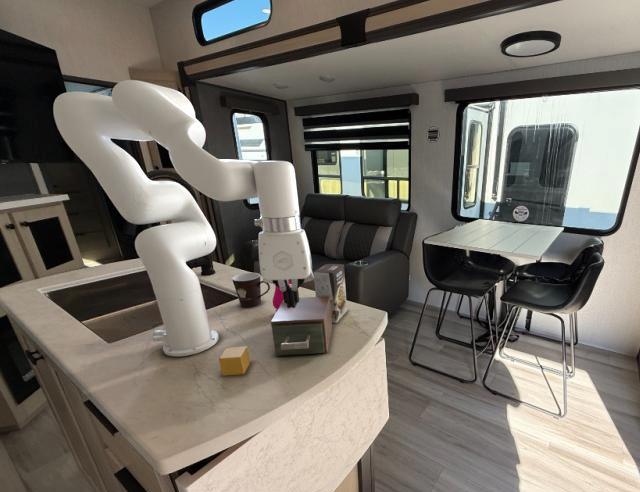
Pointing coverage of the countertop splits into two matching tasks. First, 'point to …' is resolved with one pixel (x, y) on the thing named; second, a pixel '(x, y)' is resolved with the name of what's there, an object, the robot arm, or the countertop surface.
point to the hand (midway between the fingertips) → (292, 305)
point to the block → (234, 361)
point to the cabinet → (307, 316)
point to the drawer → (298, 338)
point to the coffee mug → (248, 289)
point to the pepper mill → (278, 297)
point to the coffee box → (332, 288)
